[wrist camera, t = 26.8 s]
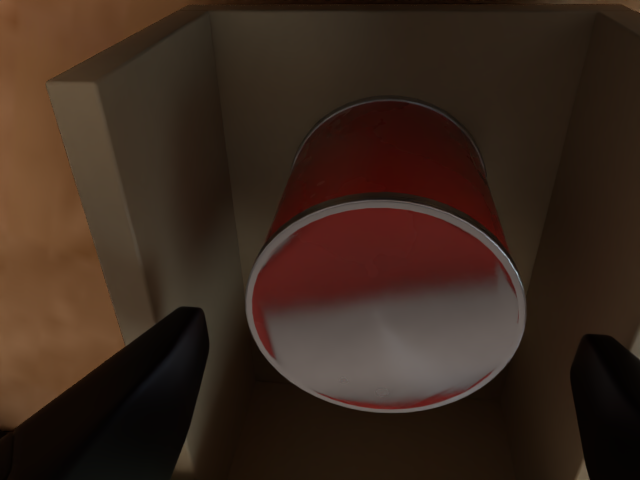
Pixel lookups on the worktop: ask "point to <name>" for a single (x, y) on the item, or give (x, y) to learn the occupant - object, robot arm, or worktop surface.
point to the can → (387, 263)
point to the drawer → (272, 176)
